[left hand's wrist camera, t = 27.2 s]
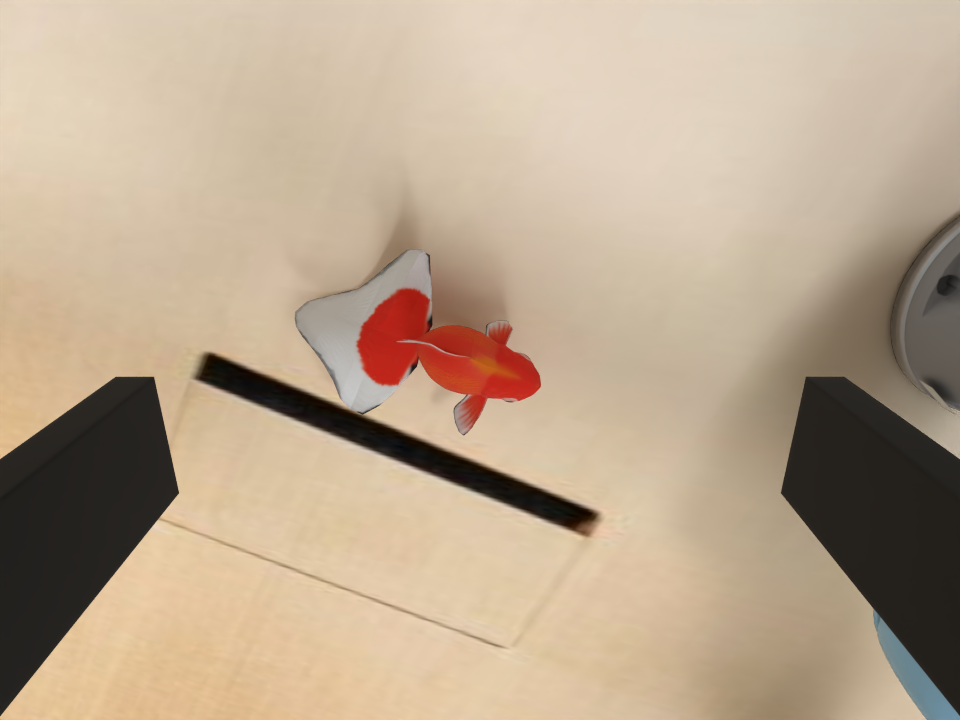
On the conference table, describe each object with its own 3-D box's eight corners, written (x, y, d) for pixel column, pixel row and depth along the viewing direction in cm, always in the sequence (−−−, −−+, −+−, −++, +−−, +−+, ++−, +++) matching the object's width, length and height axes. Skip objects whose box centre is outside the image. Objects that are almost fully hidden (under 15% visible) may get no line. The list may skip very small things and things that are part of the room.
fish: (473, 492, 41) (438, 503, 32) (308, 360, 45) (230, 333, 35) (567, 365, 42) (561, 337, 32) (395, 243, 45) (342, 185, 35)
